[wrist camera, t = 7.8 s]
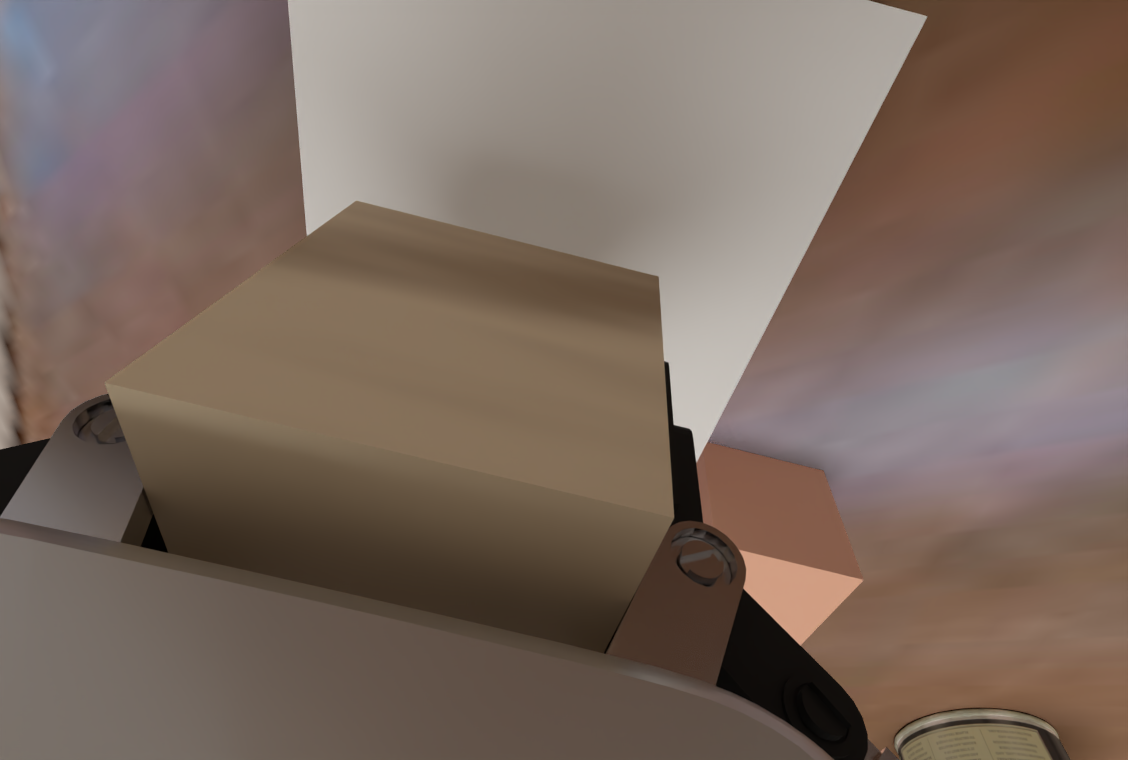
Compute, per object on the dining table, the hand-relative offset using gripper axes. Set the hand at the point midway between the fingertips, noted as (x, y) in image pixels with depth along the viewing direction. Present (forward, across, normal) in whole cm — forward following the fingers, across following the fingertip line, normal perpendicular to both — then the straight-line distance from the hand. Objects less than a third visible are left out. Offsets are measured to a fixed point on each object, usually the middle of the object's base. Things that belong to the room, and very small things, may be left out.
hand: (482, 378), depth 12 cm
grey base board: (+10, 0, 0) cm, 10 cm away
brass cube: (+1, 0, 0) cm, 1 cm away
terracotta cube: (+11, -12, +12) cm, 20 cm away
